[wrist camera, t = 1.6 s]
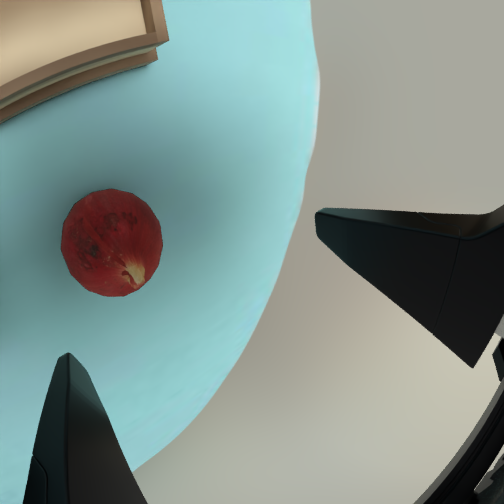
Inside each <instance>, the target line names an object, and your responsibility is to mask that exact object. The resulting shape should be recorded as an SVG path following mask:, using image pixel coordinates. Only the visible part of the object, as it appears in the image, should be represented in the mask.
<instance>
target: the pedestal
mask: <svg viewBox="0 0 504 504" xmlns="http://www.w3.org/2000/svg"><path fill="white" fill-rule="evenodd" d="M167 41H169V36H168V31H167V26H166V21H165V16H164V11H163V6H162V0H0V124H1V123H3V122H5V121H6V120H8V119H10V118H12V117H14V116H16V115H18V114H19V113H21V112H23V111H25V110H27V109H29V108H31V107H33V106H35V105H38V104H40V103H42V102H44V101H46V100H48V99H51V98H53V97H55V96H57V95H60V94H62V93H65V92H67V91H69V90H72V89H74V88H77V87H80V86H82V85H85V84H87V83H90V82H93V81H96V80H99V79H102V78H105V77H108V76H111V75H114V74H117V73H120V72H123V71H127V70H130V69H134V68H137V67H141V66H144V65H147V64H150V63H152V62H154V61H156V60H158V57H157V52H156V47H158V46H160V45H162V44H163V43H165V42H167Z"/></svg>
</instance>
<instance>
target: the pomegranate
mask: <svg viewBox="0 0 504 504" xmlns="http://www.w3.org/2000/svg"><path fill="white" fill-rule="evenodd" d="M162 247H163V242H162V234H161V226H160V223H159V221H158V219H157V218H156V216H155V214H154V213H153V211H152V210H151V208H150V207H149V206H148V204H147V203H146V202H144V201H143V200H141V199H140V198H138V197H137V196H135V195H134V194H132V193H129V192H124V191H120V190H115V189H106V190H101V191H96V192H92V193H90V194H89V195H87V196H86V197H84V198H83V199H81V200H80V201H78V202H77V203H75V204H74V206H73V207H72V209H71V211H70V212H69V214H68V216H67V218H66V219H65V221H64V223H63V230H62V240H61V252H62V254H63V257H64V259H65V262H66V264H67V267H68V269H69V272H70V274H71V275H72V276H73V277H74V278H75V279H76V280H77V281H78V282H79V283H80V284H81V285H82V286H83V287H84V288H85V289H87V290H88V291H91V292H94V293H97V294H100V295H102V296H107V297H117V296H126V295H128V294H130V293H132V292H134V291H137V290H139V289H140V288H141V287H142V286H143V285H144V284H145V283H146V282H147V281H149V280H150V278H151V277H152V275H153V273H154V272H155V270H156V269H157V267H158V265H159V261H160V256H161V252H162Z"/></svg>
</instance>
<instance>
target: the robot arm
mask: <svg viewBox="0 0 504 504" xmlns="http://www.w3.org/2000/svg"><path fill="white" fill-rule="evenodd" d="M315 226H316V234H317V236H318V238H319V239H320V240H321V241H322V242H323V243H324V244H325V245H327V247H328V248H330V249H331V250H332V251H333V252H334V253H335V254H336V255H337V256H338V257H339V258H340V259H341V260H342V261H343V262H345V263H346V264H347V265H348V266H349V267H350V268H352V269H353V270H354V271H355V272H357V273H358V274H359V275H361V276H362V277H363V278H364V279H366V280H367V281H368V282H369V283H371V284H372V285H373V286H375V287H376V288H377V289H378V290H380V291H381V292H382V293H383V294H385V295H386V296H387V297H388V298H389V299H391V300H392V301H393V302H394V303H396V304H397V305H398V306H399V307H401V308H402V309H403V310H404V311H405V312H407V313H408V314H409V315H410V316H412V317H413V318H414V319H415V320H416V321H418V322H419V323H420V324H421V325H422V326H423V327H425V328H426V329H427V330H428V331H430V332H431V333H433V335H434V336H435V337H436V338H437V339H439V340H440V341H441V342H442V343H443V344H444V345H446V346H447V347H448V348H449V349H450V350H451V351H452V352H454V353H455V354H456V355H457V356H458V357H459V358H460V359H462V360H463V361H464V362H465V363H466V364H467V365H468V366H470V367H471V368H474V366H475V365H476V363H477V361H478V360H479V358H480V357H481V355H482V353H483V352H484V350H485V348H486V346H487V345H488V343H489V341H490V339H491V338H492V336H493V334H494V333H496V334H498V335H499V336H501V339H500V341H499V343H498V345H497V347H496V349H495V351H494V353H493V354H492V355H493V359H494V363H495V366H496V370H497V373H498V377H499V381H501V383H500V385H499V387H498V389H497V391H496V393H495V395H494V396H493V398H492V400H491V402H490V403H489V405H488V407H487V409H486V410H485V412H484V413H483V415H482V417H481V418H480V420H479V421H478V423H477V424H476V426H475V428H474V429H473V431H472V432H471V434H470V435H469V437H468V438H467V439H466V441H465V442H464V444H463V445H462V446H461V448H460V449H459V451H458V452H457V453H456V455H455V456H454V457H453V459H452V460H451V461H450V462H449V464H448V465H447V466H446V467H445V469H444V470H443V471H442V472H441V474H440V475H439V476H438V477H437V478H436V480H435V481H434V482H433V483H432V484H431V485H430V486H429V488H428V489H427V490H426V491H425V492H424V493H423V494H422V495H421V496H420V497H419V498H418V500H417V501H416V502H415V503H414V504H504V454H503V455H502V456H501V457H500V459H499V460H498V462H497V463H496V465H495V466H494V469H493V470H491V471H489V472H487V470H488V469H489V467H490V466H491V464H492V463H493V461H494V460H495V458H496V456H497V455H498V453H499V451H500V450H501V448H502V446H503V445H504V205H503V206H501V207H499V208H498V209H496V210H494V211H493V212H490V213H487V214H480V215H475V214H441V213H440V214H439V213H424V212H418V213H417V212H408V211H391V210H370V209H347V208H323V209H321V210H319V211H318V212H316V214H315ZM32 454H33V456H32V458H31V463H30V469H29V474H28V480H27V485H26V489H25V495H24V500H23V504H148V503H147V502H146V500H145V498H144V496H143V494H142V492H141V490H140V488H139V486H138V485H137V482H136V480H135V478H134V476H133V474H132V472H131V470H130V468H129V466H128V463H127V461H126V459H125V457H124V455H123V452H122V450H121V448H120V445H119V443H118V440H117V438H116V436H115V433H114V430H113V428H112V425H111V423H110V420H109V418H108V415H107V413H106V411H105V409H104V407H103V405H102V403H101V401H100V398H99V396H98V394H97V392H96V390H95V387H94V385H93V383H92V381H91V378H90V376H89V374H88V372H87V370H86V369H85V368H84V367H83V366H82V365H81V363H80V362H79V361H78V360H77V359H76V358H75V357H74V356H73V355H72V354H71V353H66V354H64V355H62V356H61V357H59V358H58V360H57V363H56V366H55V369H54V372H53V375H52V379H51V382H50V385H49V388H48V392H47V395H46V399H45V402H44V406H43V410H42V413H41V417H40V421H39V425H38V430H37V434H36V438H35V443H34V448H33V453H32ZM486 472H487V473H486ZM485 473H486V475H485ZM484 475H485V476H484ZM483 476H484V478H483ZM482 478H483V479H482ZM481 479H482V481H481ZM480 481H481V482H480ZM479 482H480V483H479ZM478 483H479V485H478ZM477 485H478V486H477ZM476 486H477V488H476ZM475 488H476V489H475ZM474 489H475V490H474Z"/></svg>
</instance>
